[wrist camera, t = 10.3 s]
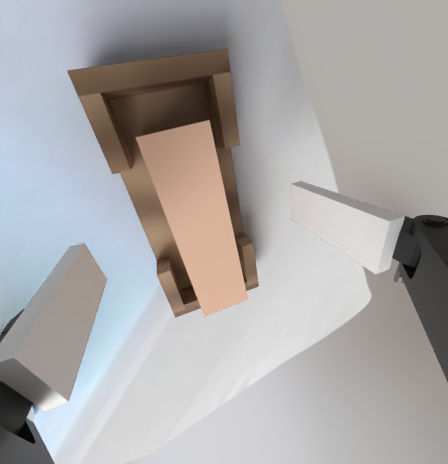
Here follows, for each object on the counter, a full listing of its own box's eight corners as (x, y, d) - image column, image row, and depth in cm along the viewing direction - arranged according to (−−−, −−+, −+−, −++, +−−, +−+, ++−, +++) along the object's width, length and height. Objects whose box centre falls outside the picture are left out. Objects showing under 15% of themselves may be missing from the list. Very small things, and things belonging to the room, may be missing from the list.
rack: (84, 83, 14) (67, 70, 11) (215, 63, 15) (227, 48, 13) (173, 297, 23) (175, 317, 21) (248, 270, 25) (258, 286, 22)
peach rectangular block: (142, 137, 15) (135, 137, 10) (192, 125, 16) (209, 119, 11) (193, 274, 22) (204, 316, 17) (226, 262, 23) (247, 299, 18)
